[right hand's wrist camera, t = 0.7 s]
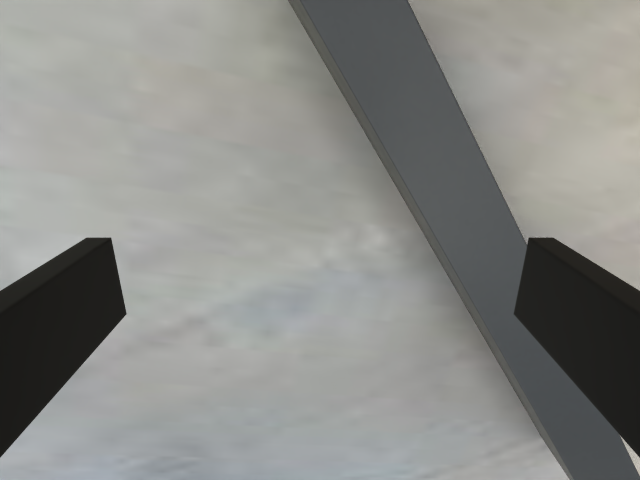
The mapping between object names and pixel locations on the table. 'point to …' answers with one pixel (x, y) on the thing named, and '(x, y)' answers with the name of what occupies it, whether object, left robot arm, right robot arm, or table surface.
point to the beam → (456, 209)
